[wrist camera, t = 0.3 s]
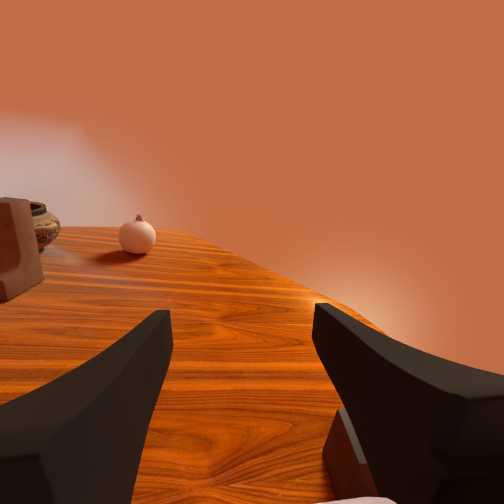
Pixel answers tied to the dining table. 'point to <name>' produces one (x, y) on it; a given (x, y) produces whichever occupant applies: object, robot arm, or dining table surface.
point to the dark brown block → (347, 461)
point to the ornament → (137, 236)
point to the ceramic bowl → (44, 225)
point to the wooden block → (17, 249)
